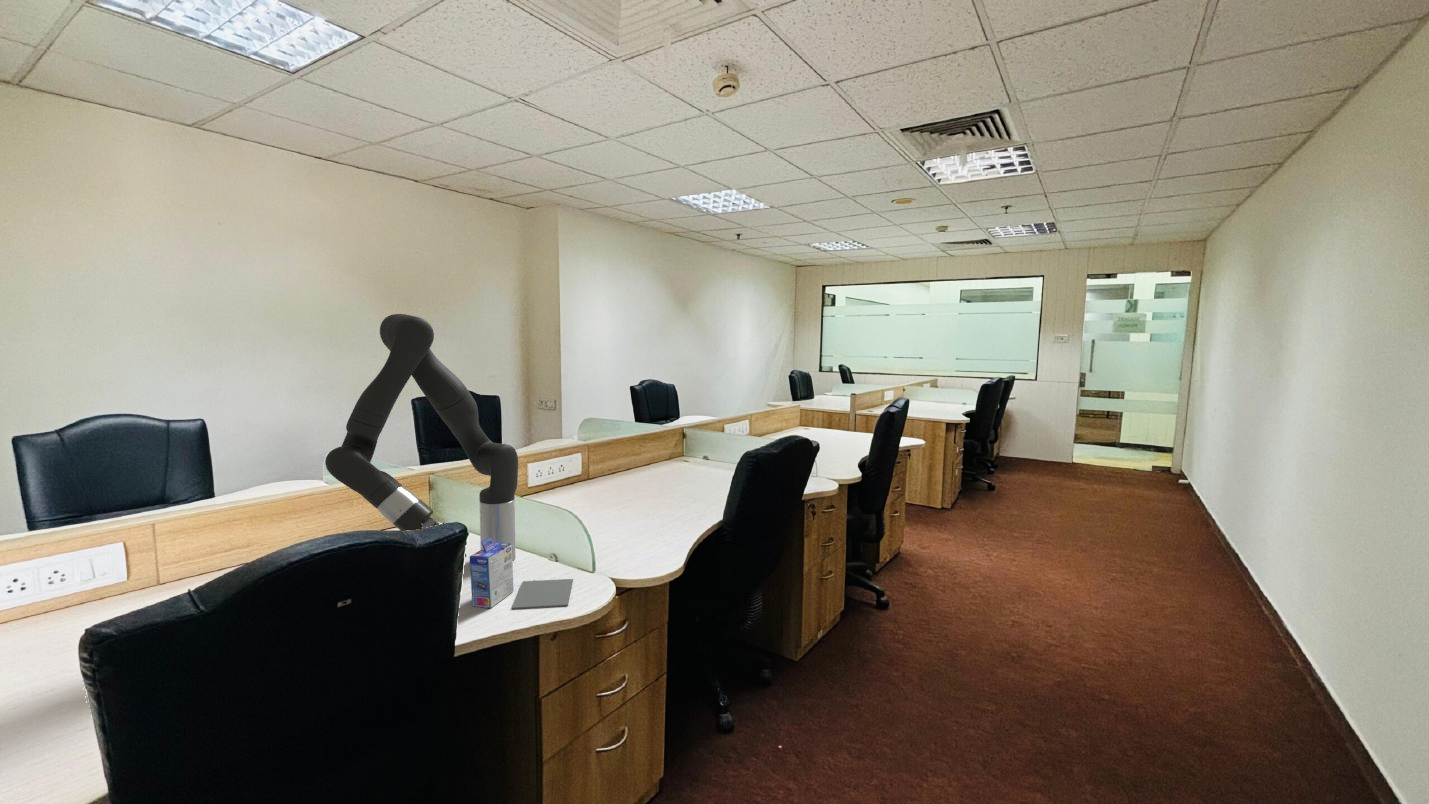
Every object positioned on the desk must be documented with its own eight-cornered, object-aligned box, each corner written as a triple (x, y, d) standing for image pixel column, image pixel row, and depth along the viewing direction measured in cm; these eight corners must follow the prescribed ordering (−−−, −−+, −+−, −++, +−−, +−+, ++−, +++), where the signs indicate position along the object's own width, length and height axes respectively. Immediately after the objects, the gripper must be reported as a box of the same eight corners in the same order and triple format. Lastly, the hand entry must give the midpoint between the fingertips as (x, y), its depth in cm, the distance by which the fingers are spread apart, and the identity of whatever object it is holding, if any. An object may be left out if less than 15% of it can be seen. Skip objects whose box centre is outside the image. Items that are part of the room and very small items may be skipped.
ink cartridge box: (494, 589, 139) (493, 532, 138) (514, 591, 138) (513, 534, 137) (469, 606, 130) (468, 545, 129) (491, 609, 129) (489, 547, 127)
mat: (522, 582, 143) (522, 581, 143) (573, 580, 145) (573, 578, 145) (511, 609, 129) (511, 607, 129) (567, 606, 131) (567, 604, 131)
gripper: (406, 506, 123) (467, 558, 126) (427, 491, 136) (481, 539, 139) (381, 531, 122) (442, 582, 125) (404, 513, 135) (459, 560, 138)
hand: (463, 559), depth 132 cm, fingers closed
